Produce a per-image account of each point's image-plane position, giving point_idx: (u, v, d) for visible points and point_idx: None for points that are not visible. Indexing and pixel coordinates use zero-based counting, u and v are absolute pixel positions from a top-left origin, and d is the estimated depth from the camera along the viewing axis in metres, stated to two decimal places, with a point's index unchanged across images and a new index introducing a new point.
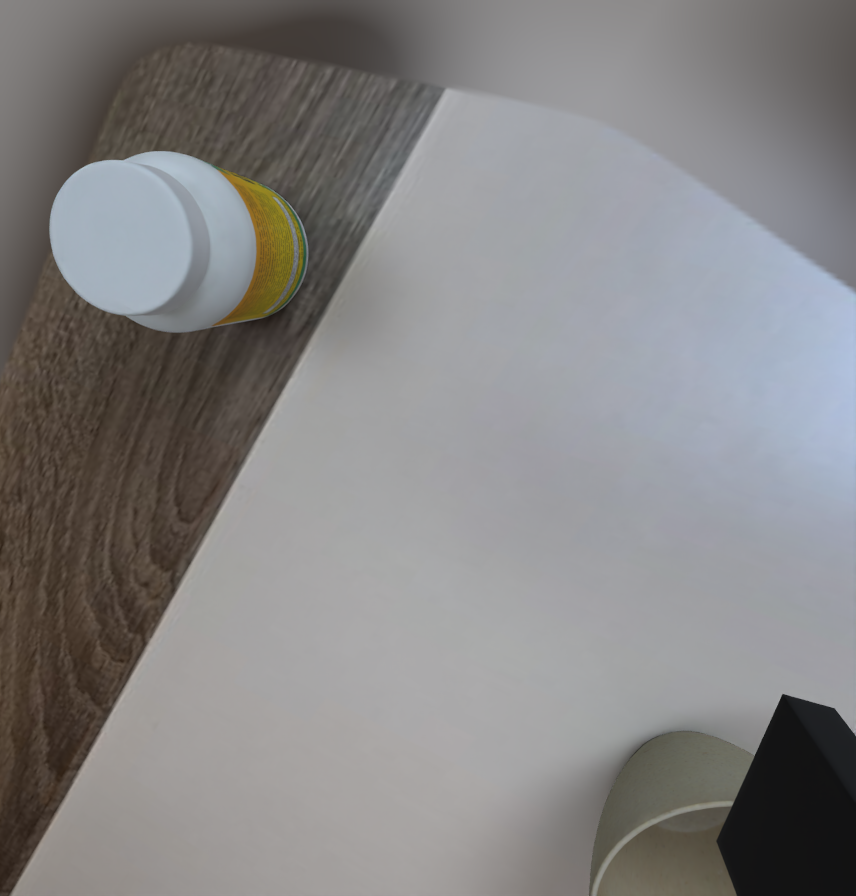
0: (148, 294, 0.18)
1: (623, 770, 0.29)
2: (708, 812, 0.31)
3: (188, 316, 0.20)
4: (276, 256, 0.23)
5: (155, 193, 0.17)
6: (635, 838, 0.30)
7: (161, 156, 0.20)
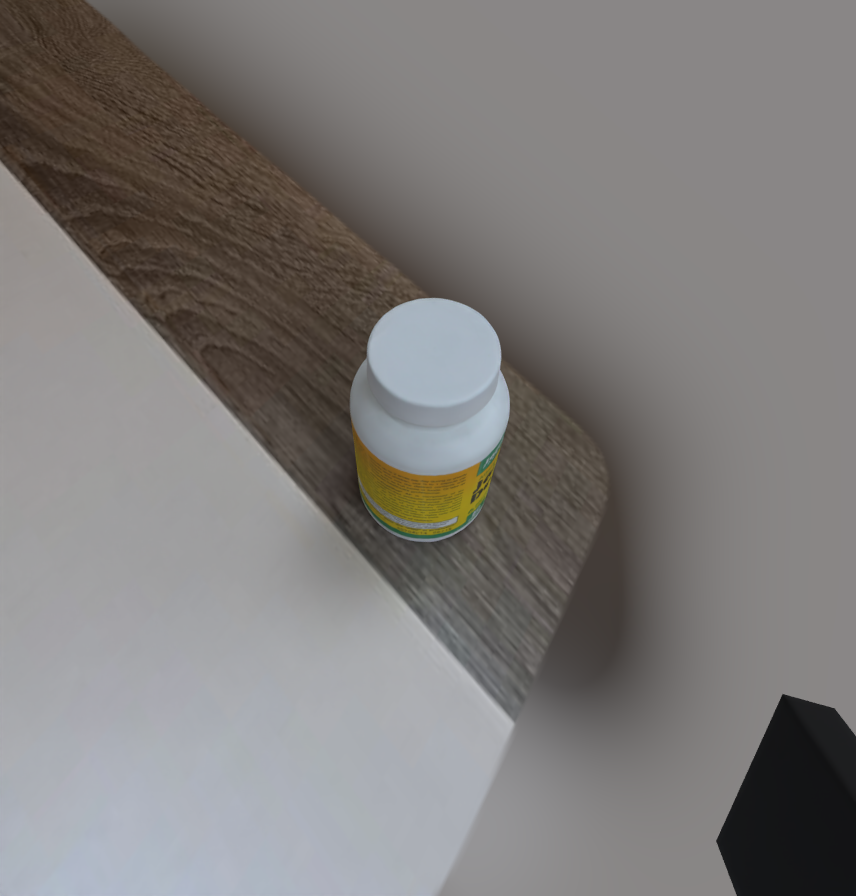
0: (381, 354, 0.20)
1: None
2: None
3: (361, 390, 0.22)
4: (397, 495, 0.23)
5: (461, 389, 0.19)
6: None
7: (501, 417, 0.22)
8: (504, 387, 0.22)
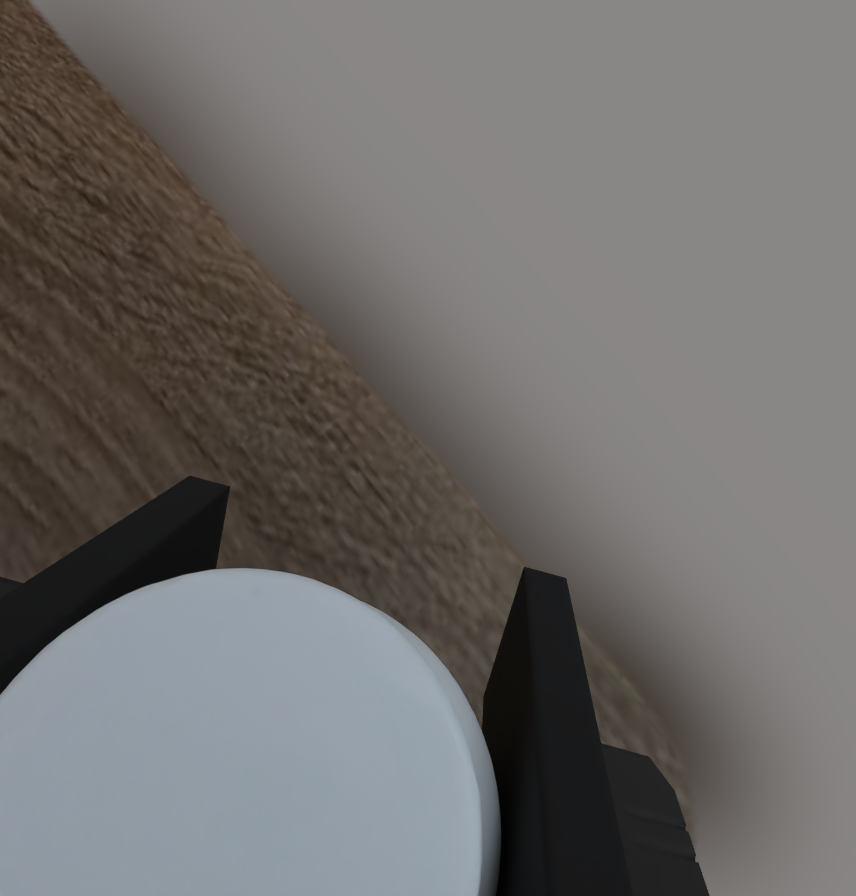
0: None
1: None
2: None
3: None
4: None
5: None
6: None
7: None
8: (488, 818, 0.07)
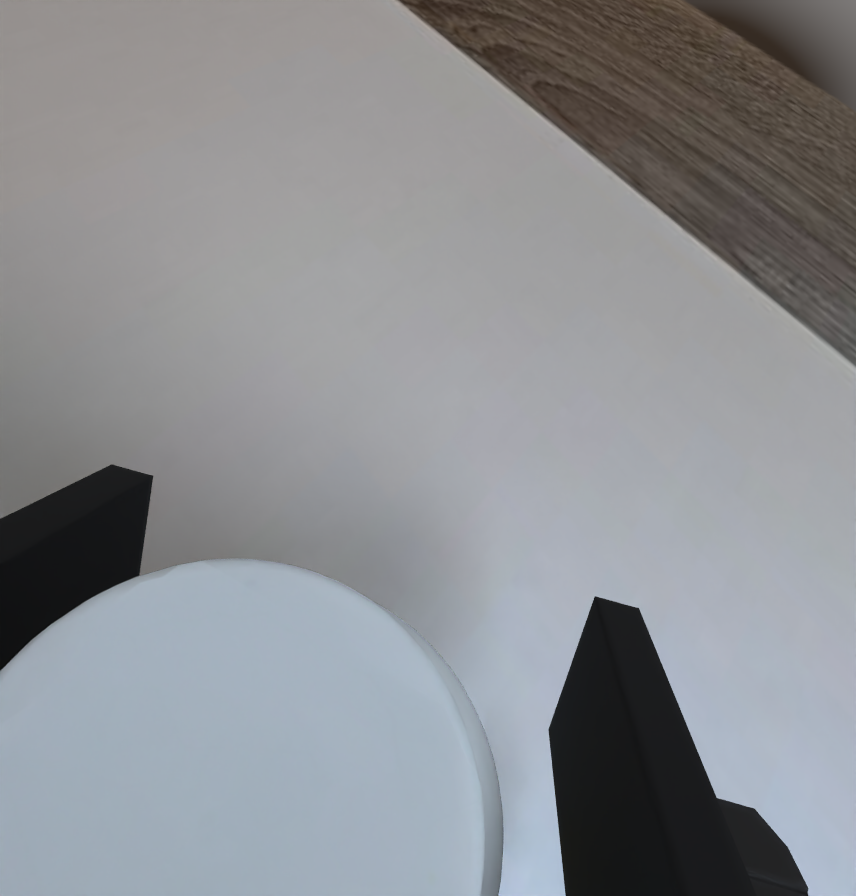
0: None
1: None
2: None
3: None
4: None
5: None
6: None
7: None
8: (490, 816, 0.07)
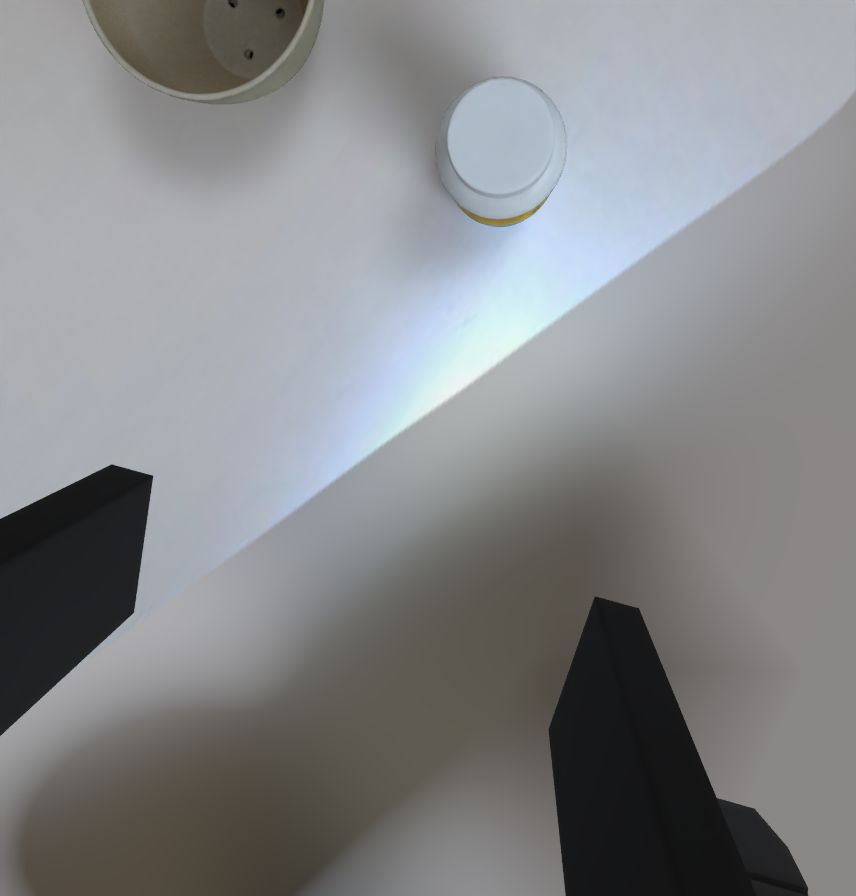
0: (457, 142, 0.25)
1: None
2: (220, 37, 0.33)
3: (444, 147, 0.27)
4: (472, 215, 0.30)
5: (517, 179, 0.25)
6: None
7: (554, 175, 0.27)
8: (562, 144, 0.27)
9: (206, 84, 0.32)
